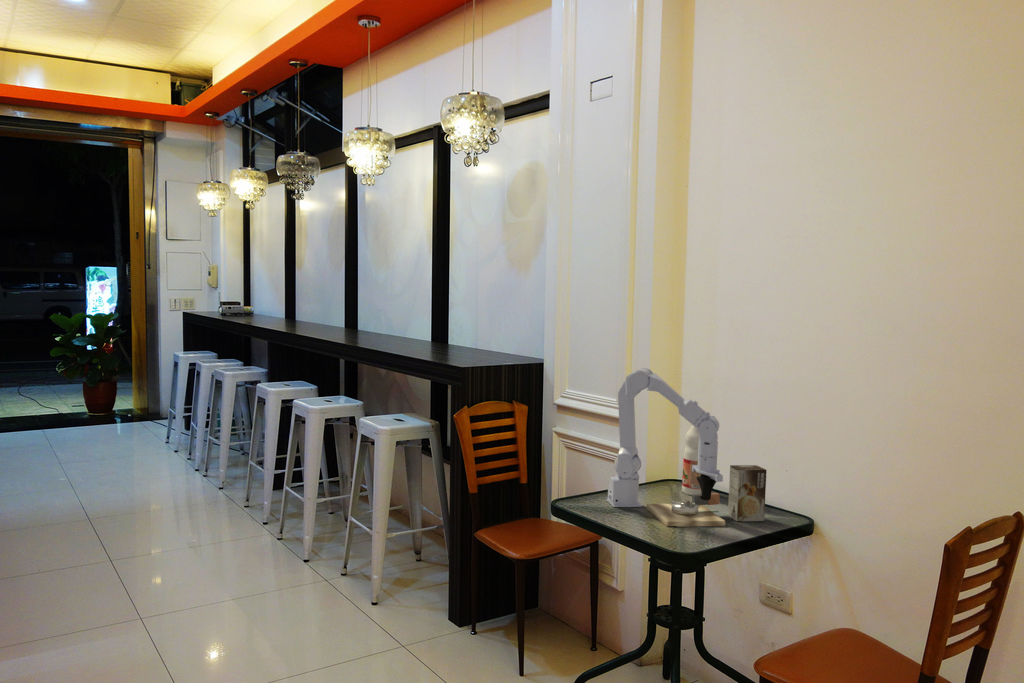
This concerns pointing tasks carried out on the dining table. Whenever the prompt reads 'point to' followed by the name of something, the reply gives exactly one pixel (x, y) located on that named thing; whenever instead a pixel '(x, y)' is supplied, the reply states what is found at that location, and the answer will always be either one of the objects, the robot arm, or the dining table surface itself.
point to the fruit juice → (691, 463)
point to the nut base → (685, 516)
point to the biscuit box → (747, 493)
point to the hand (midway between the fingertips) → (705, 499)
